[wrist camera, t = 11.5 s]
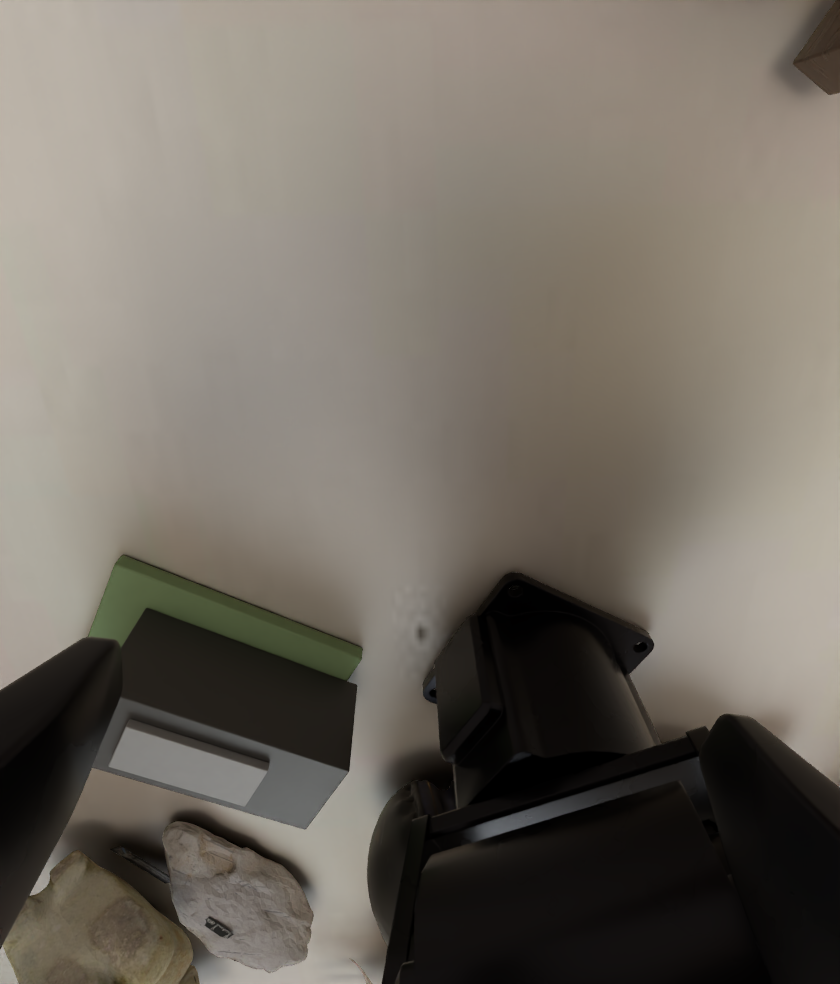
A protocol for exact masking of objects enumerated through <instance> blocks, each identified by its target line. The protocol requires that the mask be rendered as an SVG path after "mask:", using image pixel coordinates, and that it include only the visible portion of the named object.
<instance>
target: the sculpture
mask: <svg viewBox="0 0 840 984" xmlns="http://www.w3.org/2000/svg"><path fill="white" fill-rule="evenodd" d="M3 947H4V950H5V952H6V955H7V957H8V959H9V961H10V963H11V965H12V967H13V969H14V972H15V975H16V977H17V980H18V983H19V984H200V983H199V978H198V973H197V970H196V968H195V966H193V965H190V964H191V962H192V959H193V949H192V946H191V942H190V940H189V938H188V936H187V935H186V933H185V932H184V931H183V930H182V929H181V928H180V927H179V926H178V925H176V924H174V923H173V922H172V921H170V920H169V919H168V918H167V917H165V916H164V915H163V914H161V913H160V912H159V911H157V910H156V909H154V908H153V906H152V905H151V904H150V903H149V902H148V901H147V900H146V899H145V898H144V897H143V896H142V895H141V894H140V893H139V892H138V891H137V890H135V889H134V888H133V887H132V886H131V885H130V884H128V883H127V882H126V881H125V880H123V879H122V878H120V877H119V876H117V875H115V874H114V873H112V872H110V871H108V870H106V869H103V868H101V867H99V866H98V865H97V864H96V863H94V862H93V861H92V860H91V859H90V858H89V857H87V856H86V855H85V854H84V853H82V852H81V851H79V850H76V851H74V852H72V853H71V854H69V855H68V856H67V857H65V858H64V859H63V860H62V861H60V862H59V863H58V864H57V865H56V866H55V867H54V868H53V869H52V870H51V871H50V881H49V884H48V885H47V887H46V888H45V889H44V890H42V891H41V892H40V893H38V894H36V895H32V896H28V898H27V900H26V902H25V904H24V906H23V908H22V910H21V911H20V913H19V915H18V917H17V919H16V921H15V923H14V925H13V926H12V928H11V930H10V932H9V934H8V936H7V938H6V940H5V942H4V943H3Z"/></svg>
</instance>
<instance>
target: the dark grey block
mask: <svg viewBox="0 0 840 984" xmlns="http://www.w3.org/2000/svg"><path fill="white" fill-rule="evenodd" d="M121 658H122V672H123V688H122V693H121V696H120V699H119V702H118V704H117V707H116V709H115V712H114V714H113V717H112V719H111V722H110V724H109V726H108V729H107V731H106V734H105V736H104V739H103V741H102V744H101V746H100V749H99V751H98V753H97V756H96V758H95V761H94V763H93V766H92V768H96V769H99V770H102V771H106V772H109V773H113V774H116V775H120V776H123V777H126V778H130V779H133V780H137V781H140V782H144V783H147V784H150V785H154V786H157V787H161V788H164V789H168V790H171V791H175V792H178V793H181V794H185V795H188V796H192V797H195V798H199V799H202V800H205V801H209V802H212V803H216V804H219V805H223V806H226V807H229V808H233V809H236V810H240V811H243V812H247V813H250V814H254V815H257V816H260V817H264V818H267V819H271V820H274V821H278V822H281V823H284V824H288V825H291V826H295V827H298V828H302V829H306V828H307V827H308V826H309V824H310V823H311V822H312V820H313V819H314V818H315V816H316V815H317V814H318V812H319V811H320V809H321V808H322V807H323V805H324V804H325V803H326V801H327V800H328V799H329V797H330V796H331V795H332V793H333V792H334V791H335V789H336V788H337V787H338V785H339V784H340V783H341V781H342V780H343V779H344V777H345V776H346V775H347V773H348V772H349V767H350V757H351V746H352V736H353V725H354V714H355V704H356V693H357V685H356V684H353V683H350V682H347V681H345V680H342V679H339V678H337V677H334V676H331V675H328V674H326V673H323V672H320V671H318V670H315V669H312V668H310V667H307V666H304V665H301V664H299V663H296V662H293V661H291V660H288V659H285V658H282V657H280V656H277V655H274V654H272V653H269V652H266V651H263V650H261V649H258V648H255V647H253V646H250V645H247V644H244V643H242V642H239V641H236V640H234V639H231V638H228V637H225V636H223V635H220V634H217V633H215V632H212V631H209V630H206V629H204V628H201V627H198V626H196V625H193V624H190V623H187V622H185V621H182V620H179V619H177V618H174V617H171V616H168V615H166V614H163V613H160V612H158V611H155V610H152V609H149V608H146V609H145V610H144V612H143V613H142V615H141V616H140V618H139V620H138V621H137V623H136V624H135V626H134V628H133V629H132V631H131V632H130V634H129V636H128V637H127V639H126V640H125V642H124V644H123V645H122V647H121Z"/></svg>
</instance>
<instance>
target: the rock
mask: <svg viewBox="0 0 840 984" xmlns="http://www.w3.org/2000/svg"><path fill="white" fill-rule="evenodd" d="M162 841H163V845H164V847H165V858H166V862H167V868H168V872H169V876H168V875H167V874H165V873H164V872H162V871H160V870H159V869H157V868H156V867H154V866H152V865H151V864H149V863H148V862H146V861H144V860H143V859H141V858H139V857H138V856H136V855H135V854H133V853H131V852H130V851H128V850H127V849H125V848H123V847H118V848H114V849H110V850H112V851H113V852H115V853H117V854H118V855H120V856H122V857H123V858H125V859H126V860H128V861H130V862H131V863H133V864H135V865H136V866H138V867H140V868H141V869H143V870H144V871H146V872H148V873H149V874H151V875H153V876H154V877H156V878H157V879H159V880H161V881H162V882H164V883H169V882H170V888H171V897H172V902H173V904H174V906H175V909H176V912H177V915H178V918H179V921H180V923H181V924H182V925H184V926H185V927H186V928H187V929H188V930H189V931H190V932H192V933H193V934H195V935H196V936H197V937H198V938H199V939H200V940H201V942H202V943H203V944H204V945H205V946H206V948H207V950H208V951H209V952H210V953H211V954H213V955H215V956H217V957H219V958H229V959H232V960H234V961H237V962H240V963H242V964H244V965H245V966H249V967H251V968H254V969H264V970H265V971H267V972H268V973H270V972H275V971H277V970H278V969H279V968H280V967H282V966H289V965H291V966H292V965H295V964H297V963H300V962H302V961H304V960H305V959H306V957H307V953H308V949H307V944H308V943H309V941H310V937H311V929H310V927H311V924H312V921H313V916H314V915H313V911H312V910H311V908H310V906H309V904H308V901H307V899H306V896H305V894H304V892H303V891H302V889H301V886H300V885H299V883H298V882H297V881H296V879H295V878H294V877H293V876H292V874H291V873H290V872H289V871H288V870H287V869H286V868H285V867H284V866H283V865H281V864H278V863H276V862H274V861H271V860H269V859H266V858H264V857H262V856H260V855H258V854H257V853H255V852H254V851H252V850H250V849H248V848H247V847H246V848H239V847H238V846H236V845H234V844H232V843H230V842H228V841H226V840H225V839H223V838H221V837H218V836H215V835H213V834H212V833H210V832H209V831H207V830H205V829H202V828H200V827H198V826H196V825H193V824H190V823H187V822H181V821H176V822H173V823H171V824H170V825H169V826H167V827H166V829H165V830H164V834H163V837H162Z"/></svg>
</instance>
